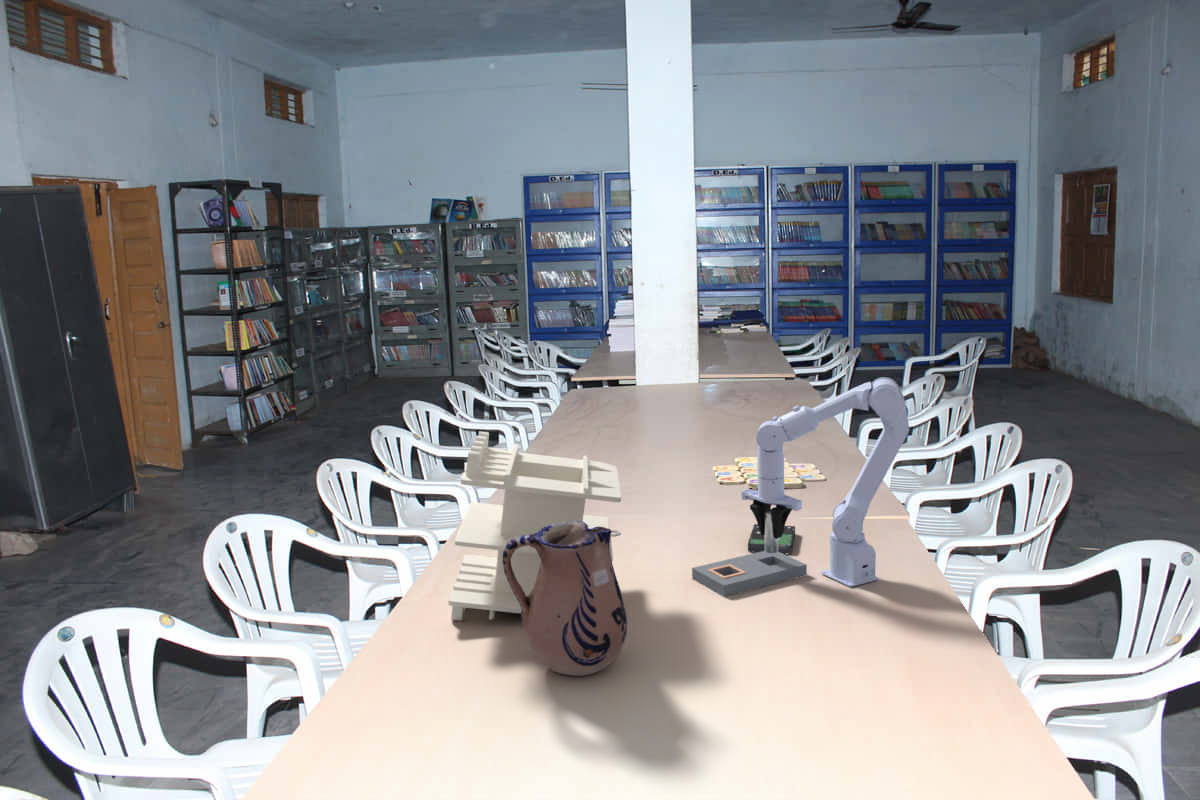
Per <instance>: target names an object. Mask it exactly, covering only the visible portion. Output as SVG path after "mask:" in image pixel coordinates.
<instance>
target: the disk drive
mask: <svg viewBox="0 0 1200 800" xmlns="http://www.w3.org/2000/svg"><path fill="white" fill-rule="evenodd" d="M752 527H753V528H752V530H751V532H750V533H751V534H750V536H749V538H748V542H747V552H748V551H754V552H753V553H757V552H762V551H764V535H761V534H760V530H759V526H758V523H757V524H756V523H755V524H754V525H753V526H752ZM794 537H796V526H795V525H785V526H784V529H783V534H782V537H780V538H778V552H780V553H788V554H787V555H792V552H793V547H794V543H793V542H795V538H794Z"/></svg>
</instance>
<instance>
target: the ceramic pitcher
mask: <svg viewBox="0 0 1200 800" xmlns="http://www.w3.org/2000/svg"><path fill="white" fill-rule="evenodd" d="M612 533H613V532H612V531H611V528H610V529H609V528H605V527H594V528H592V529H588V525H587V524H586V523H585V522H583V521H566V522H562V523H556V524H550V525H548V526H545V527H543V528H541V529H540V530H539V531H538V532H537V533H535V534H531V535H528V534H526V535H521V536H517V537H515V538H514V539H512V540H510V541H509V542H508V543H507V545H506V547H505V549H504V551H503V555H502V557H503V568H504V572H505V575H506V578H507V580H508V582H509V584H510V586H511V589H512V591H513V592H514V595H515V596H516V598H517V600H518V602H519V604H520V606H521V613H520V615H521V616H520V621H521V625H522V626H523V628H524V629H525V631H526V632H527V636H528V637H527V638H528V640H529V643H530V646H531V648H532V650H533V652H534V654H535V656H536V657H537V658H538V660H539V661H540V662H541V663H542V664H543V665H544V666H545V667H547V668H548V669H550V670H552V672H553V671H554V672H555V673H556V672H557V673H558V674H562V675H565V676H566V675H567V676H573V677H575V676H576V677H582V676H589V675H592V674H596V673H597V672H600V671H602V670H603V669H605V668H606V667H607V666H609V665H610V664H612V662H614V661H615V660H616V658H617V656H618V655H619V653H620V652H621V650H622V649H623V646H624V644H625V641H626V638H627V631H628V622H627V621H628V619H627V612H626V607H625V603H624V599H623V596H622V595H623V594H622V592H621V588H620V585H619V582H618V580H617V576H616V572H615V568H614V565H613V561H611V554H610V546H609V544H610V535H611V534H612ZM527 545H529V546H531V547H533V548H535V549H536V551H537V552H538V554H539V557H540V558H541V564H540V567H539V571H538V574H537V577H536V581H535V584H534V587H533V589H532V591H531V593H530V594H529V596H526V595H525V593H524V591H523V589H522V587H521V585H520V584H519V582H518V581H517V579H516V577H515V574H514V572H513V570H512V566H511V557H512V554H513V553H514V551H515V550H516V549H518V548H520V547H522V546H527Z"/></svg>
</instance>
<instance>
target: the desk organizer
mask: <svg viewBox="0 0 1200 800" xmlns="http://www.w3.org/2000/svg"><path fill="white" fill-rule="evenodd" d="M489 437H490V433H489V432H488V431H478V435H476V438H475V440H474V441H473V445H471V447H470V450H469V451H468V455H467V461H466V467H465V472H463V473H462V475H461V477H460V484H461V485H465V486H471V487H480V488H487V489H489V488H491V489H497V490H498V489H499V490H504V497H503V502H502V503H503V505H501V504H492V503H486V502H485V503H484V502H475V501H473V502H470V503H469V505H468V507H467V510H466V512H465V515H464V517H463V519H462V522H461V525H460V526H459V530H458V532H457V534H456V536H455V540H454V545H455V546H458V547H466V548H475V549H476V548H477V549H484V550H485V549H486V550H494V551H497V557H495V556H494V557H493V556H487V555H486V556H485V555H476V554H464V555H463V558H462V562H461V566H460V567H459V571H458V574H457V575H456V581H455V582H454V584H453V588H452V589H453V590H452V591H451V592H450V595H449V597H448V606H451V617H450V619H451V621H459V622H462V621H463V619H464V613H465V612H466V608H467V609H477V610H487V611H489V616H488V620H493V619H494V618H495V615H496V614H495V613H496V612H504V613H512V614H521V606H520V604H519V602H518V600H517V598H516V596H515V595H514V592H513V591H512V589H511V586H510V584H509V582H508V580H507V578H506V575H505V572H504V568H503V557H502V555H503V551H504V549H505V547H506V545H507V543H508V542H509V541H510V540H512V539H514V538H515V537H517V536H521V535H526V534H528V535H531V534H535V533H537V532H538V531H539V530H540V529H541V528H543V527H545V526H548V525H550V524H556V523H562V522H566V521H583V522H585V523H586V524H587V525H588V529H592V528H594V527H605V528H609V529H610V530H611V526H610V525H611V523H610V518H609V517H608V516H600V515H599V516H598V515H590V514H589V515H588V514H585V505H586V500H593V501H594V500H595V501H603V502H609V503H610V502H612V503H620V502H621V501H622V493H621V486H620V480H619V473H618V468H617V467H618V466H615V465H612V464H609V463H606V462H603V461H596V460H594V461H593V460H588V455H583V456H582V459H577V458H568V457H561V456H551V455H542V454H534V453H524V452H519V444H518V443H514V444H513V447H512V450H511V449H503V448H497V447H496V448H494V447H488V446H489V439H490V438H489ZM609 546H610V554H611V561H612V562H613V561H614V556H613V555H614V554H613V545H612V536H611V535H610V544H609ZM540 564H541V558H540V557H539V554H538V552H537V551H536V549H535V548H533V547H531V546H529V545H527V546H522V547H520V548H518V549H516V550H515V551H514V553H513V554H512V557H511V566H512V570H513V572H514V574H515V577H516V579H517V581H518V582H519V584H520V585H521V587H522V589H523V591H524V593H525V595H526V596H529V594H530V593H531V591H532V589H533V587H534V584H535V581H536V577H537V574H538V571H539V567H540Z"/></svg>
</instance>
